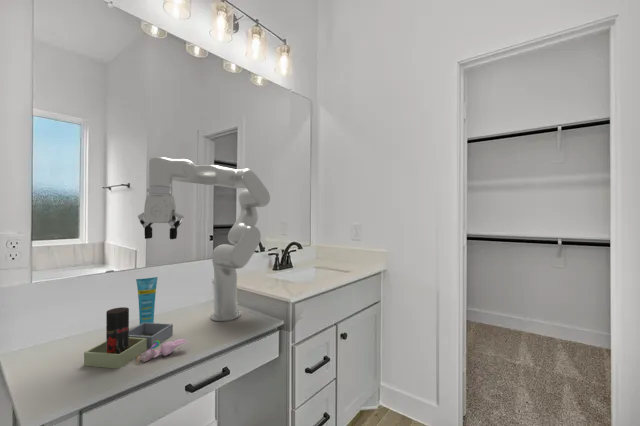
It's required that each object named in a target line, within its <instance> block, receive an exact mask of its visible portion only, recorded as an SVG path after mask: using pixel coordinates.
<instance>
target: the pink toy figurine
mask: <svg viewBox="0 0 640 426" xmlns="http://www.w3.org/2000/svg"><path fill="white" fill-rule="evenodd" d="M154 342H156V344H154V345H153V346H152V347H151V348H150V349H147V350H146V351H145V352H143V353H142V354H139V355H138V356H136V358H135V359H136V362H137V364H139V360H141V361H142V362H143V363H146V361H147V362H149V361H150V360H152V358H154V359H156V357H158V356H159V355H160V354H161V355H162V356H164V357H166V356H168V355H169V354H172V353H173V352H174V350H175V349H177V348H178V347H180V346H182V345H183V344H188V343H189V342H188V340H187V339H182V338H179V339H175V340H174V341H167V342H166V341H165V343H163V344H162V345H161V347H160V349H156V348H158V347H159V346H160V344H161V343H160V341H159V340H156V341H154ZM148 360H149V361H148Z"/></svg>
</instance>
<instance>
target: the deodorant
mask: <svg viewBox="0 0 640 426" xmlns="http://www.w3.org/2000/svg"><path fill="white" fill-rule="evenodd" d="M105 315H106V318H105V319H106V334H105V335H106V340H105V341H106V353H111V354H120V353H122V352H123V351H125V350H127V349H128V348H129V330H130V329H129V328H130V309H129V307H127V306H126V307H124V306H123V307H115V308H110V309H108V310H107V311H106V314H105Z"/></svg>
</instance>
